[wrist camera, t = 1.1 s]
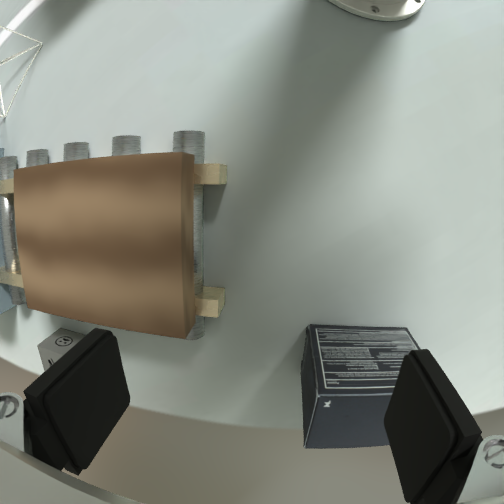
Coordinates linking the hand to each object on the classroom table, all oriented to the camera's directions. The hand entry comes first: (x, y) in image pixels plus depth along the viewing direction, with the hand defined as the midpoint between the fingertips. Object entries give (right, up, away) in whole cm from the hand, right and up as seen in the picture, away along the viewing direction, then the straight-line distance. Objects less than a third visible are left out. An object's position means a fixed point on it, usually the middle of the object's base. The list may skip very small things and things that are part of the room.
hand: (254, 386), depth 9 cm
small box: (+10, -6, +20) cm, 23 cm away
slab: (-14, +5, +16) cm, 22 cm away
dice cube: (-22, -8, +24) cm, 33 cm away
